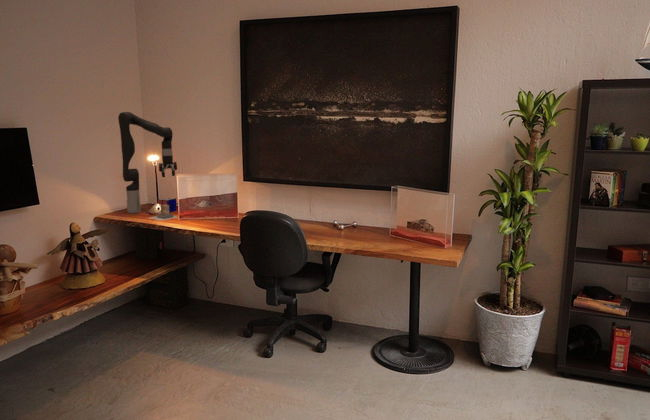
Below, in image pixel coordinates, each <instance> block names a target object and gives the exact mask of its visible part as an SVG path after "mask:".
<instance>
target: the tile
mask: <svg viewBox="0 0 650 420" xmlns="http://www.w3.org/2000/svg"><path fill="white" fill-rule="evenodd" d="M156 216H157V217H158V218H163V219H166V218H171V217H173V216H174V214H173V213H169V215H161V213H159V214H156Z"/></svg>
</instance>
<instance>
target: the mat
mask: <svg viewBox="0 0 650 420" xmlns="http://www.w3.org/2000/svg"><path fill="white" fill-rule="evenodd" d="M176 218H178V216H177V215H173V217H171V218H166V219H163V218H158V217H157V215H156V216H150V217H148V219H152V220H156V221H159V222H160V221H161V222H162V221H167V220H172V219H176Z"/></svg>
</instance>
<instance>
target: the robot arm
mask: <svg viewBox="0 0 650 420" xmlns="http://www.w3.org/2000/svg"><path fill="white" fill-rule="evenodd" d="M117 118H118V125H119V131H120V142H121V143H120V144H121V145H120V146H121V154H122V155H121V158H122V178H123V181H124V182H128V183H129V182H132V183H131V184H129V185H127V186H125V187H126V188H125V190H126V191H125V192H126V208H127V213H128V214H138V213H141V212H142V210H141V209H142V208H141V197H140V196H141V195H140V173H139V170H138V169H137V168H129V167H130V162H131V160H132V158H133V157H134V154H135V152H136V147H135V142H134V138H133V136H132V134H131V128H130V125H132V126H133V125H134V126H137V127H141V128H142V129H144V130H145V131H147V132H150V133H152V134H155V135H157V136H159V137H162V138H163V140H162V141H161V159H162V163H160V162H159V163H158V171H159V172H160V173H161V177H162V178H166V170H169V169H170V170H171V176H172V177H175V176H176V171H177V170H178V165H177V161H174V156H173V149H172V147H173V145H172V142H173V141H172V140H173V135H174V134H173V130H172V129H171V128H170V127H167V126H165V127H163V126H160V124H157V123H155V122H152V121H150V120H146V119H144V118H142V117H139V116H138V115H136V114H134V113H132V112H130V111H123V112H120V113H119V114H118V117H117Z"/></svg>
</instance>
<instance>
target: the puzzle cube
mask: <svg viewBox="0 0 650 420" xmlns="http://www.w3.org/2000/svg"><path fill="white" fill-rule="evenodd" d="M158 203H159V204H161V205H165V204H166V205H169V212H170V213H172V212H176V211H178V206H177V198H174V197H163V198H158V199H157V204H158Z"/></svg>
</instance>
